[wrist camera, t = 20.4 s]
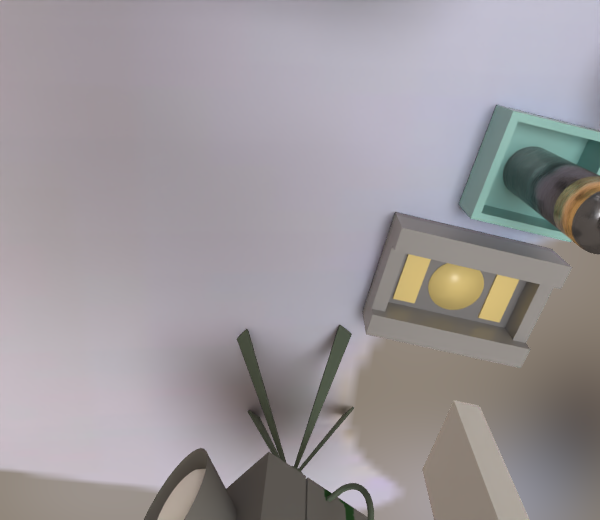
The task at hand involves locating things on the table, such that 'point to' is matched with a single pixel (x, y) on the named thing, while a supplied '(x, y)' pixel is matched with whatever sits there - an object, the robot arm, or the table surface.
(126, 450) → the table surface
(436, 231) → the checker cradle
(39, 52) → the table surface
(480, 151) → the tray
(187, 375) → the table surface
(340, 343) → the camera
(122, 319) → the table surface
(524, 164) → the aa cell
